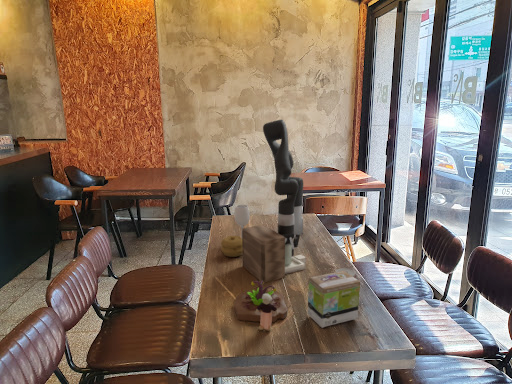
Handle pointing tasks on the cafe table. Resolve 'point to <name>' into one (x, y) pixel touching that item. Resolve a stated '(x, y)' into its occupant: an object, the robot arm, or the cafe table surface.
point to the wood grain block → (263, 253)
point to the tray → (296, 264)
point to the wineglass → (241, 215)
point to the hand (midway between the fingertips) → (285, 257)
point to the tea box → (333, 298)
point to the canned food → (347, 271)
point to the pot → (232, 246)
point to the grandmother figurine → (266, 312)
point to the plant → (258, 303)
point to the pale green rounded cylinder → (288, 254)
